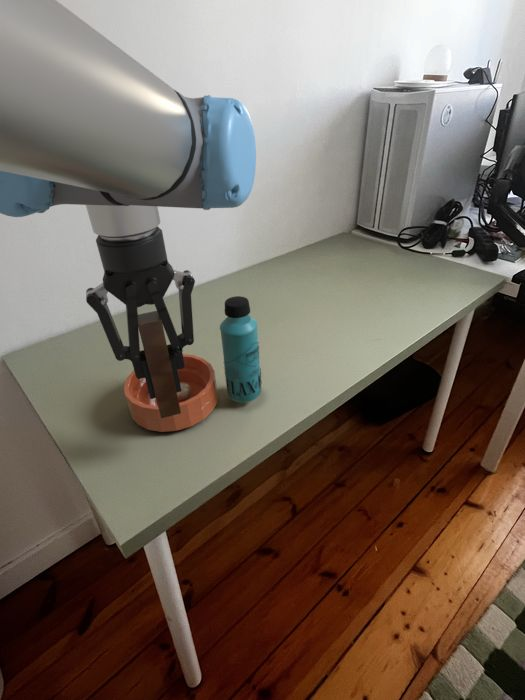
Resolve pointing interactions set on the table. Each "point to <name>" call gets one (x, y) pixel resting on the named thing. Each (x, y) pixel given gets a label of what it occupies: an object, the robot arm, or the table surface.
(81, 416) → the table surface
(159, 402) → the stick
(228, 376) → the beverage bottle
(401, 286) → the table surface
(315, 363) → the table surface
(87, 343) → the table surface
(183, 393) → the bead
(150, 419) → the bowl
